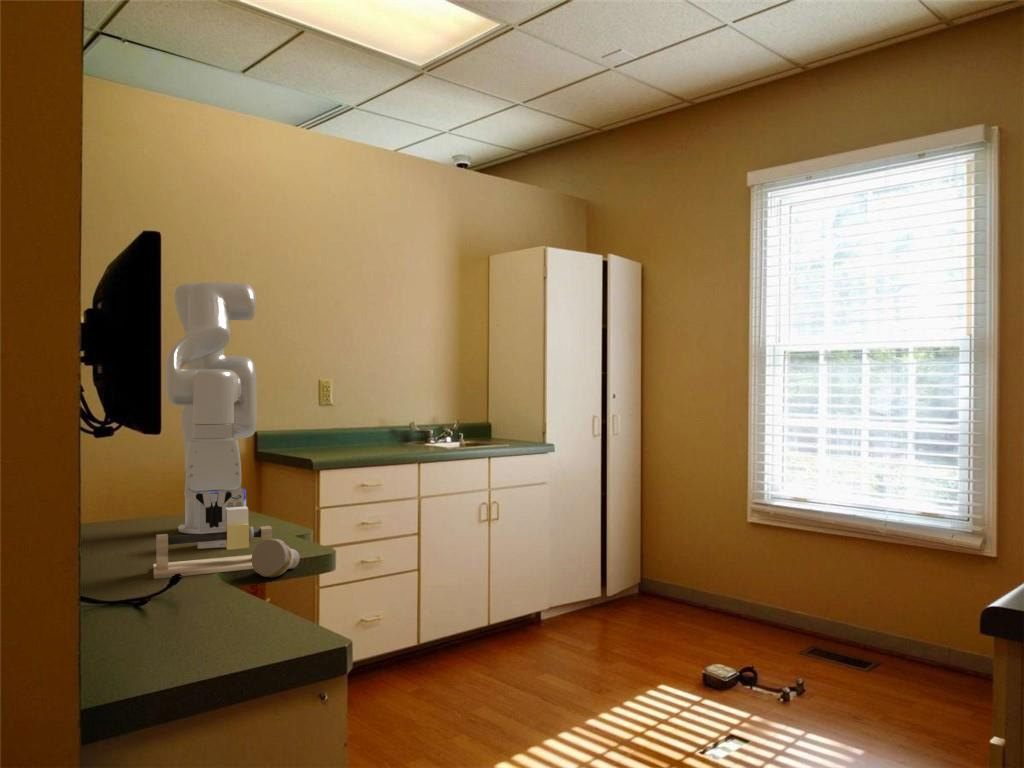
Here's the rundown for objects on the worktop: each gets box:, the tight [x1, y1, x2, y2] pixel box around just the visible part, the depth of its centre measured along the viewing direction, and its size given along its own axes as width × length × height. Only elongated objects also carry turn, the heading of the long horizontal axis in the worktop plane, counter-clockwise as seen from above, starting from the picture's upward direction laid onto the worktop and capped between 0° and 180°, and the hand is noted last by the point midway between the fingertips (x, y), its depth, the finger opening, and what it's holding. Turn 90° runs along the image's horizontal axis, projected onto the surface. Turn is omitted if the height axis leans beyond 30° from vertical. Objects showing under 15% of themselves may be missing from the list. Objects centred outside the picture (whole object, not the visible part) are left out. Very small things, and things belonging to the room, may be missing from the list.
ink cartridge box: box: [196, 488, 247, 550], centre depth 170 cm, size 10×6×14 cm, turn 105°
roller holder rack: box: [152, 525, 273, 580], centre depth 150 cm, size 9×22×7 cm, turn 115°
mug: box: [251, 538, 300, 578], centre depth 146 cm, size 8×10×10 cm
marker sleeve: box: [225, 505, 250, 551], centre depth 152 cm, size 5×4×8 cm
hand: (213, 526), depth 150 cm, fingers closed
